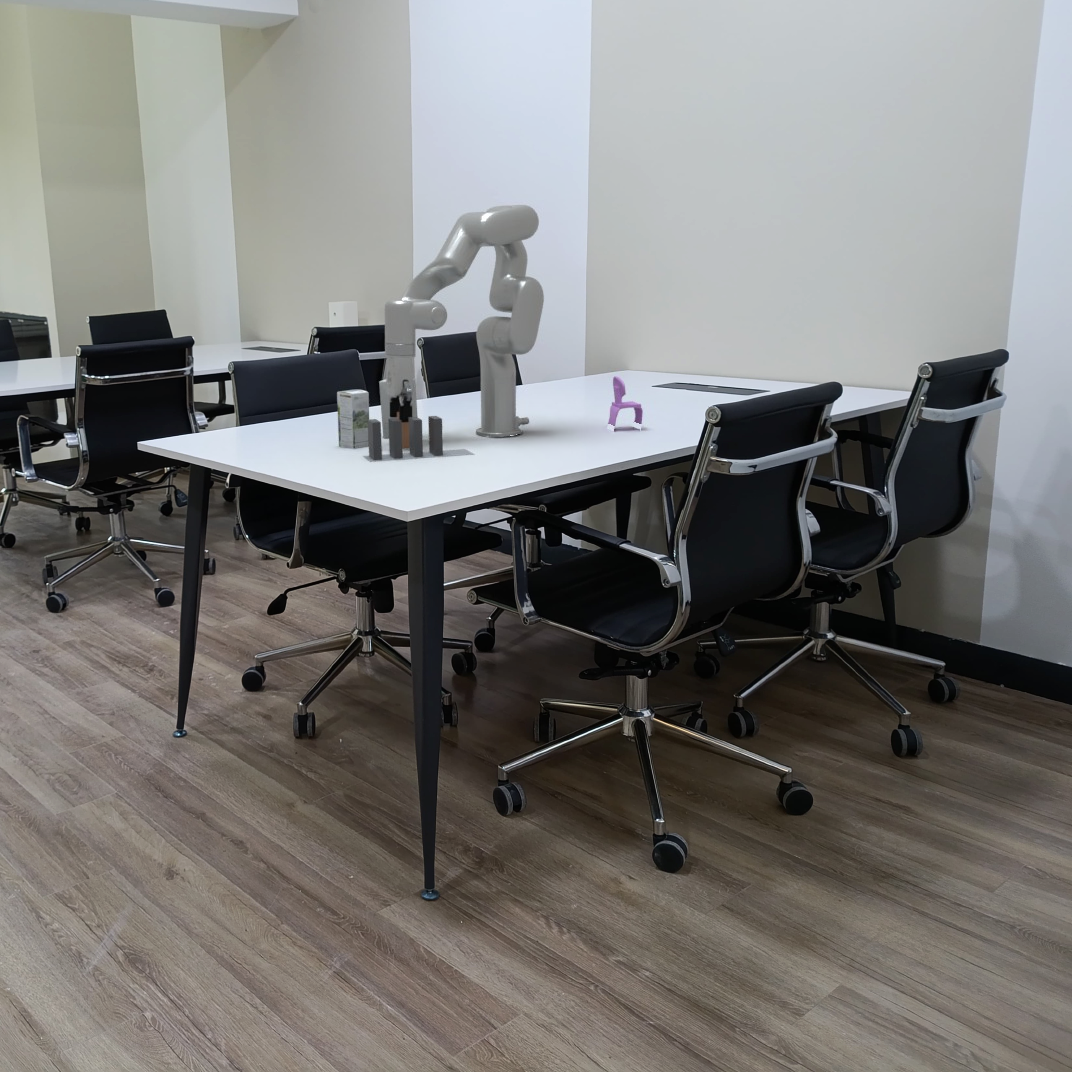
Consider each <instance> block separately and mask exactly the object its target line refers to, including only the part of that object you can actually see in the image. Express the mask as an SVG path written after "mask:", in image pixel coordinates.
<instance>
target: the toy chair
mask: <svg viewBox="0 0 1072 1072" xmlns="http://www.w3.org/2000/svg"><path fill="white" fill-rule="evenodd" d="M612 386H613V396H614V401H612V402H611V406H610V408H609V418H608V423H607V424H611V425H613V426H615V427H616V423H617V418H618V414H619V412H620V410H623V409H629V408H630V409H633V410H634V421H633V423H634V422H636V423H639V424H642V425H643V415H644V414H643V413H644V412H643V411H644V410H643V407H642V404H641V403H638V402H635V401H623V397H624V396H626V395H627V393H626V385H625V383H624V380H622V379H621V378H620V376H613V379H612Z"/></svg>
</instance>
